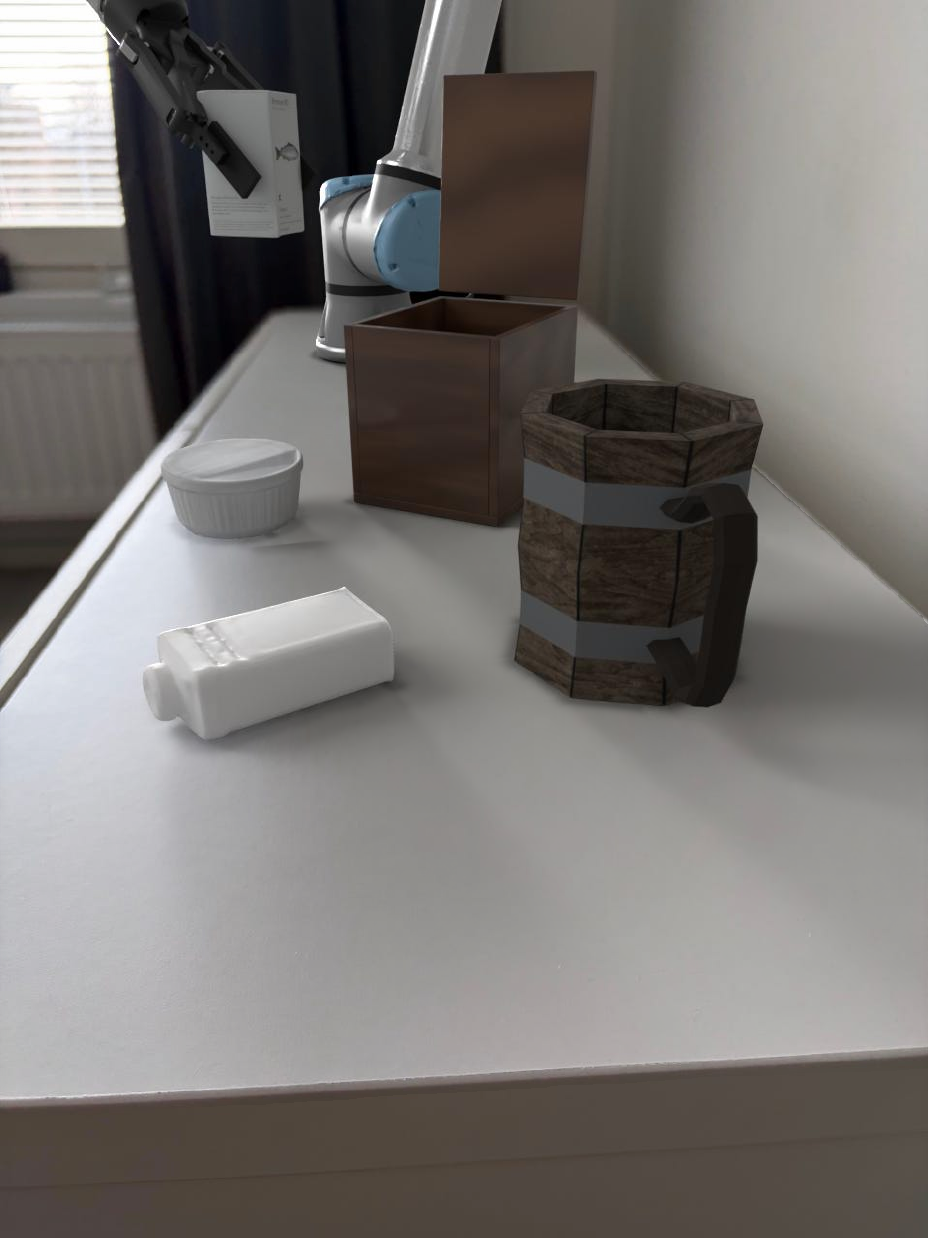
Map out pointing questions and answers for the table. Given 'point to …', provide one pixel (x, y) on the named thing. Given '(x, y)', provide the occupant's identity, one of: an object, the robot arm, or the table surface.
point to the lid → (515, 182)
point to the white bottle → (268, 662)
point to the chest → (450, 401)
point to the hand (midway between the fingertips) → (282, 185)
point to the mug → (636, 539)
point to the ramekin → (234, 486)
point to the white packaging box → (256, 163)
